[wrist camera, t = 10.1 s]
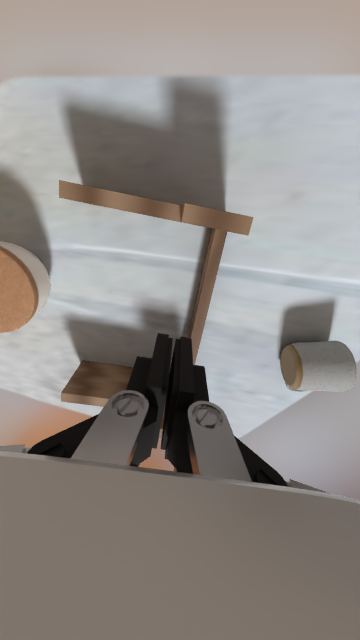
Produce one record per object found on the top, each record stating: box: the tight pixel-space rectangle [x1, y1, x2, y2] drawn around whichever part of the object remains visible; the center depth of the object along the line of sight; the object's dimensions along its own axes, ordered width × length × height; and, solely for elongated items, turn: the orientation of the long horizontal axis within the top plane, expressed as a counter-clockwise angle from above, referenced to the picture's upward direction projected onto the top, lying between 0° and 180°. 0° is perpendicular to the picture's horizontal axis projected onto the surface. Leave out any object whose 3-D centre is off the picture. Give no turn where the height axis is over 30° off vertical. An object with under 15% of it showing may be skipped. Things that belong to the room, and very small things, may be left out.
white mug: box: [280, 341, 356, 391], centre depth 37 cm, size 11×8×8 cm
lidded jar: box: [0, 241, 51, 333], centre depth 29 cm, size 11×11×9 cm
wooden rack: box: [59, 180, 253, 438], centre depth 30 cm, size 18×27×12 cm, turn 170°
